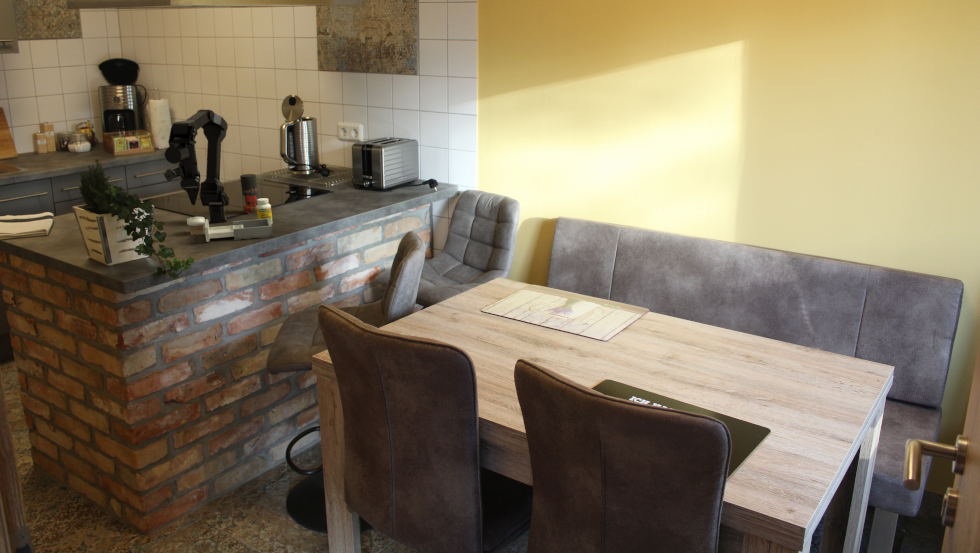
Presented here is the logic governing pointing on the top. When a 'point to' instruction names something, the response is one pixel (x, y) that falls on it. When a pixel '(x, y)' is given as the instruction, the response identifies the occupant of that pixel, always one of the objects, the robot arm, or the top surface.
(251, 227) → the housing
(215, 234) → the tray
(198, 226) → the pedestal
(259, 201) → the supplement bottle
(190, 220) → the disc
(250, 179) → the deodorant
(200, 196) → the robot arm
